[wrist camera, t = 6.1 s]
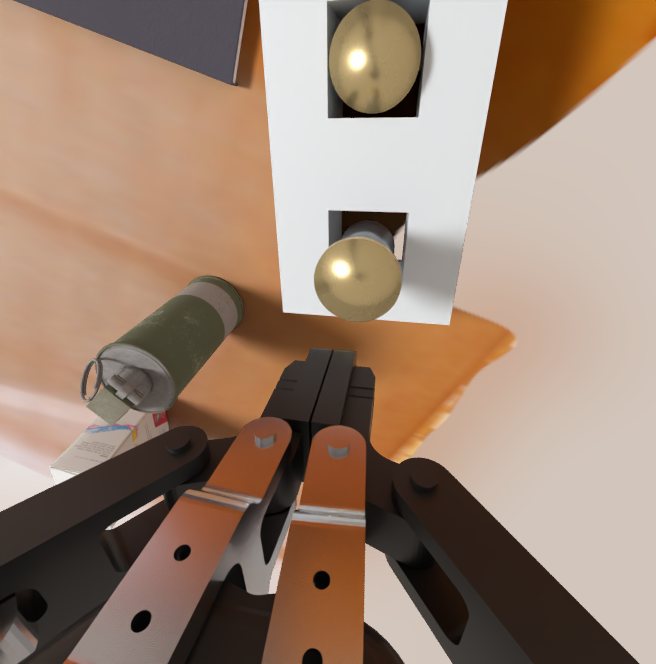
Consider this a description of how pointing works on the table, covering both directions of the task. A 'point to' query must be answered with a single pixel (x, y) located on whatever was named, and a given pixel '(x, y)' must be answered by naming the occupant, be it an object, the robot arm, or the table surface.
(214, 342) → the grenade
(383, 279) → the peg
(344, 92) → the peg
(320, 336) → the table surface
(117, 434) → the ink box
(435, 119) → the socket block
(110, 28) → the notebook
